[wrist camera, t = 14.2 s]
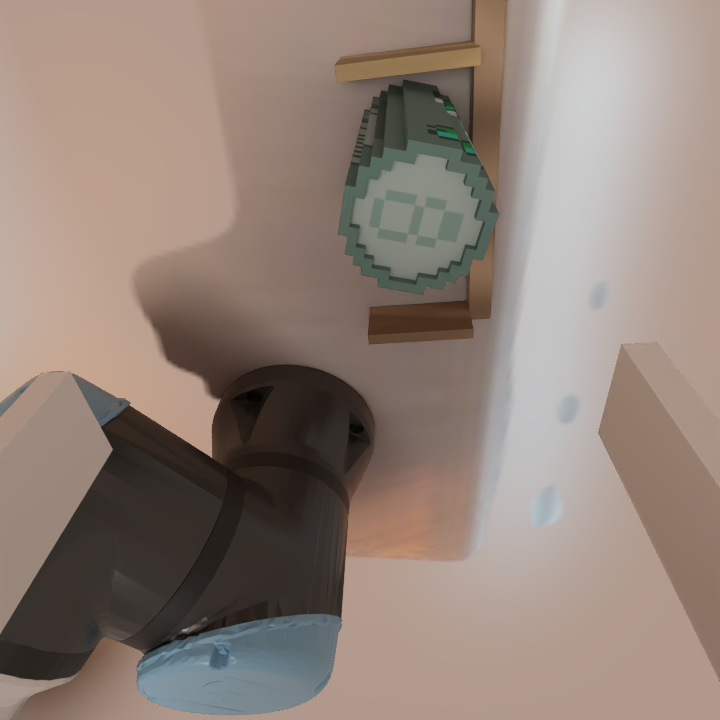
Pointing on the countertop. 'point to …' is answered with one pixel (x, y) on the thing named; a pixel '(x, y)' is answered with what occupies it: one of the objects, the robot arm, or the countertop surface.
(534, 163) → the countertop surface
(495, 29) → the notch rack
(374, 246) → the can
